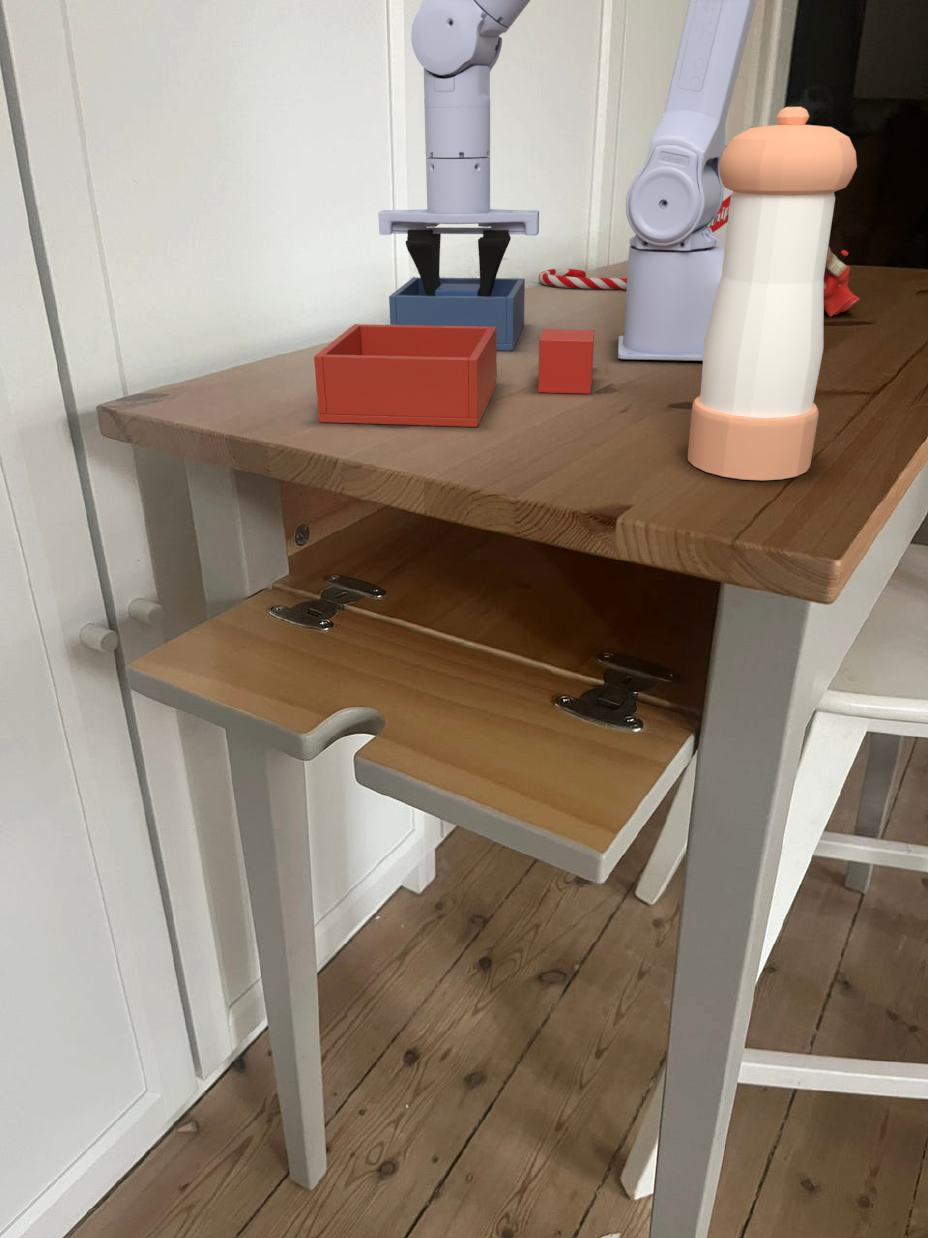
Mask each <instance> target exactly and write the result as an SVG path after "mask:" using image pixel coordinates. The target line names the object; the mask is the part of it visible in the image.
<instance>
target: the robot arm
mask: <svg viewBox="0 0 928 1238" xmlns="http://www.w3.org/2000/svg"><path fill="white" fill-rule="evenodd" d="M688 1H689V2H688V6H687V10H686V14H685V18H684V19H685V20H684V24H683V28H682V31H681V36H680V41H679V46H678V50H677V54H676V58H675V62H674V67H673V71H672V77H671V81H670V86H669V90H668V94H667V99H666V103H665V108H664V112H663V115H662V116H661V119H660V121H659V123H658V125H657V127H656V128H655V129H656V130H655V131H654V133H653V135H652V138H651V140H650V144H649V149H648V151H647V152H648V153H647V156H646V159H645V161H644V164H643V166H642V168H641V169H640V171H638V173H637V174H636V176H635V177H634V178H633V180H632V181H631V183H630V185H629V186H628V190H627V193H626V198H625V214H626V218H627V221H628V223H629V226H630V228H631V229H632V231H633V232H634V233H635V235H634V236H633V237H630V238H629V247H628V261H627V277H626V278H627V290H626V291H625V292H626V293H625V307H624V323H623V324H624V325H623V335H619V336H618V344H617V345H618V347H617V358H618V359H619V360H638V361H640V360H642V361H647V360H648V361H683V362H684V361H687V362H688V361H689V362H703V353H704V341H705V337H706V333H707V329H708V326H709V322H710V318H711V314H712V310H713V306H714V302H715V299H716V295H717V291H718V287H719V283H720V279H721V275H722V268H723V259H724V250H725V247H717V246H716V241H717V237H716V236H714V234H713V232H712V230H711V228H710V227H708V225H709V224H710V223H711V222H712V221H713V220H714V219H715V217H716V216H717V214H718V213H719V210H720V208H721V205H722V202H723V195H724V189H723V183H722V180H721V177H720V172H719V163H720V160H721V157H722V154H723V151H724V149H725V145H726V123H727V119H728V115H729V110H730V106H731V103H732V99H733V94H734V91H735V87H736V83H737V79H738V75H739V71H740V67H741V64H742V60H743V56H744V52H745V49H746V44H747V40H748V36H749V32H750V29H751V26H752V25H751V24H752V21H753V17H754V13H755V9H756V5H757V1H758V0H688ZM530 2H531V0H421V2H420V4H419V8H418V11H417V12H416V14H415V16H414V18H413V22H412V26H411V32H410V33H411V35H410V36H411V37H410V38H411V39H410V41H411V47H412V50H413V53H414V56H415V58H416V59H417V61H418V62H419V64H420V66H421V67H423V91H424V92H423V95H424V100H423V102H424V103H423V104H424V105H423V106H424V107H423V108H424V141H425V171H426V173H425V175H426V209H424V208H423V209H383V210H380V211H379V212H378V233H379V235H387V236H388V235H389V236H390V235H392V234H393V235H395V234H399V235H400V234H403V235H404V234H405V235H406V234H407V237H406V240H405V246H406V249H407V251H408V254H409V255H410V257H411V259H412V261H413V263H414V265H415V268H416V271H417V273H418V275H419V278H421V280H422V283H423V286H424V289H425V292H426V296H435V290H436V289H437V288H438V287H439V286H440V278H441V275H440V272H441V271H440V269H441V267H440V266H441V265H440V263H441V262H440V261H441V240H442V235H482V236H481V237H479V238H478V239H477V247H478V249H477V250H478V263H479V264H478V265H479V266H478V267H479V278H480V290H479V296H487V297H491V294H492V290H493V286H494V282H495V279H496V278H497V275H498V273H499V269H500V266H501V263H502V261H503V259H504V256H505V254H506V251H507V250H508V249H507V248H508V246H509V245H510V242H511V239H512V237H511V235H525V236H538V235H539V234H540V210H531V209H530V210H525V209H523V210H521V209H520V210H519V209H496V208H495V209H494V208H491V71H492V69H493V68H494V66H495V64H496V63H497V61H498V59H499V57H500V54H501V51H502V50H501V49H502V45H503V38H502V37H501V35H503V34H505V33H507V32H508V30H509V29H510V27H511V26H513V24H514V23H515V21H516V20H517V19H518V17H519V16H520V15H521V14H522V12H523V11H524V9H525V8H526V7H527V6H528V5H529V3H530ZM440 225H477V226H478V227H453V226H452V227H443V226H440ZM438 226H439V227H438Z"/></svg>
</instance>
